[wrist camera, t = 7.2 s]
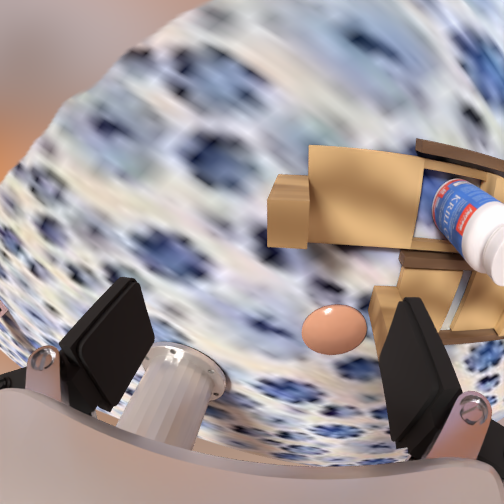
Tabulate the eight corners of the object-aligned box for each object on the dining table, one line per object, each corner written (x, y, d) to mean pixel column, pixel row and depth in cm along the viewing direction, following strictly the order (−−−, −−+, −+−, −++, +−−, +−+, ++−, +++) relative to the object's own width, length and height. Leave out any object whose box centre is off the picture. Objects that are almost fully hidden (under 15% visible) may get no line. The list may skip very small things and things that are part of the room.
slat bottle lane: (476, 250, 21) (510, 289, 15) (277, 236, 24) (267, 280, 18) (493, 173, 17) (539, 196, 11) (278, 143, 21) (266, 156, 15)
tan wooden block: (436, 327, 26) (454, 373, 20) (362, 328, 28) (371, 379, 21) (460, 267, 22) (490, 310, 16) (379, 263, 24) (397, 311, 18)
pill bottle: (431, 176, 19) (494, 218, 11) (478, 178, 18) (544, 218, 10) (427, 235, 22) (475, 299, 13) (472, 233, 21) (525, 290, 12)
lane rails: (501, 331, 25) (507, 343, 23) (375, 337, 28) (379, 353, 26) (552, 179, 15) (565, 185, 13) (416, 138, 18) (427, 141, 16)
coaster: (358, 352, 29) (358, 355, 29) (299, 349, 31) (299, 353, 30) (372, 305, 26) (373, 308, 26) (304, 302, 27) (304, 305, 27)
